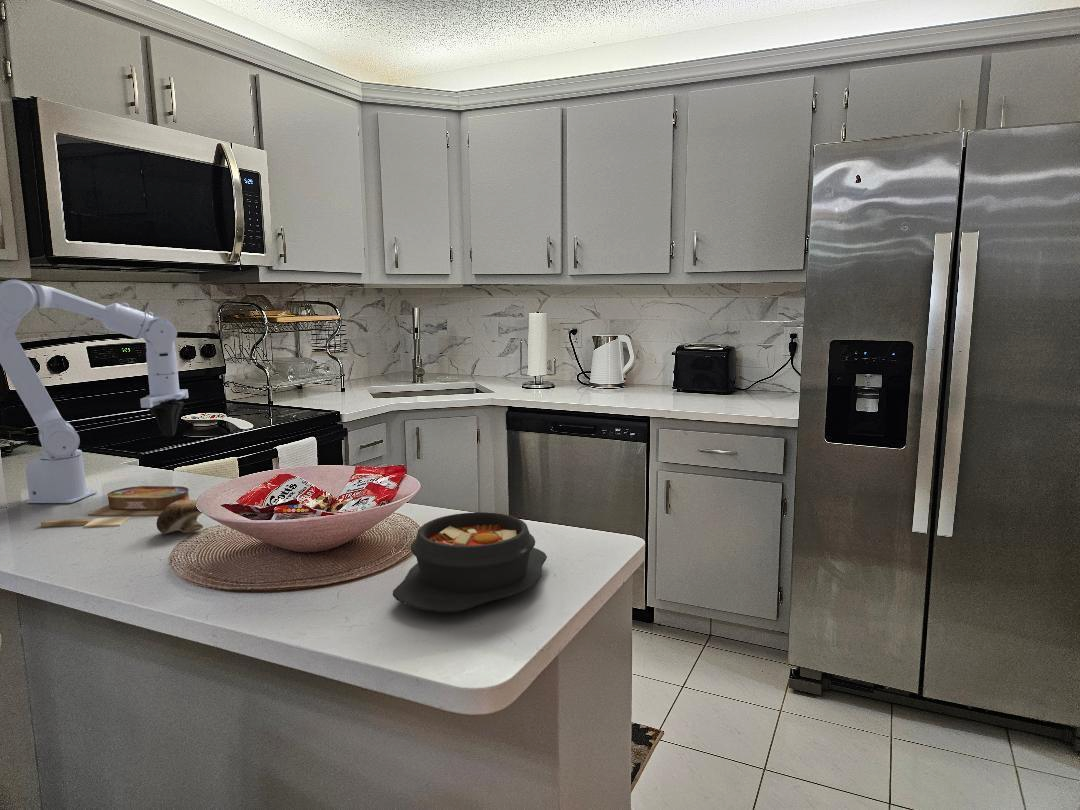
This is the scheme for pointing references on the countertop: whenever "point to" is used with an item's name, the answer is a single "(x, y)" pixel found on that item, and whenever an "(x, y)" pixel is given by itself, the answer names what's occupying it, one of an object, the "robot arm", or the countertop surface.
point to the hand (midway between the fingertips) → (169, 435)
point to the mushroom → (179, 517)
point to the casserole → (470, 562)
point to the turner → (87, 522)
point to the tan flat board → (124, 512)
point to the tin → (146, 497)
